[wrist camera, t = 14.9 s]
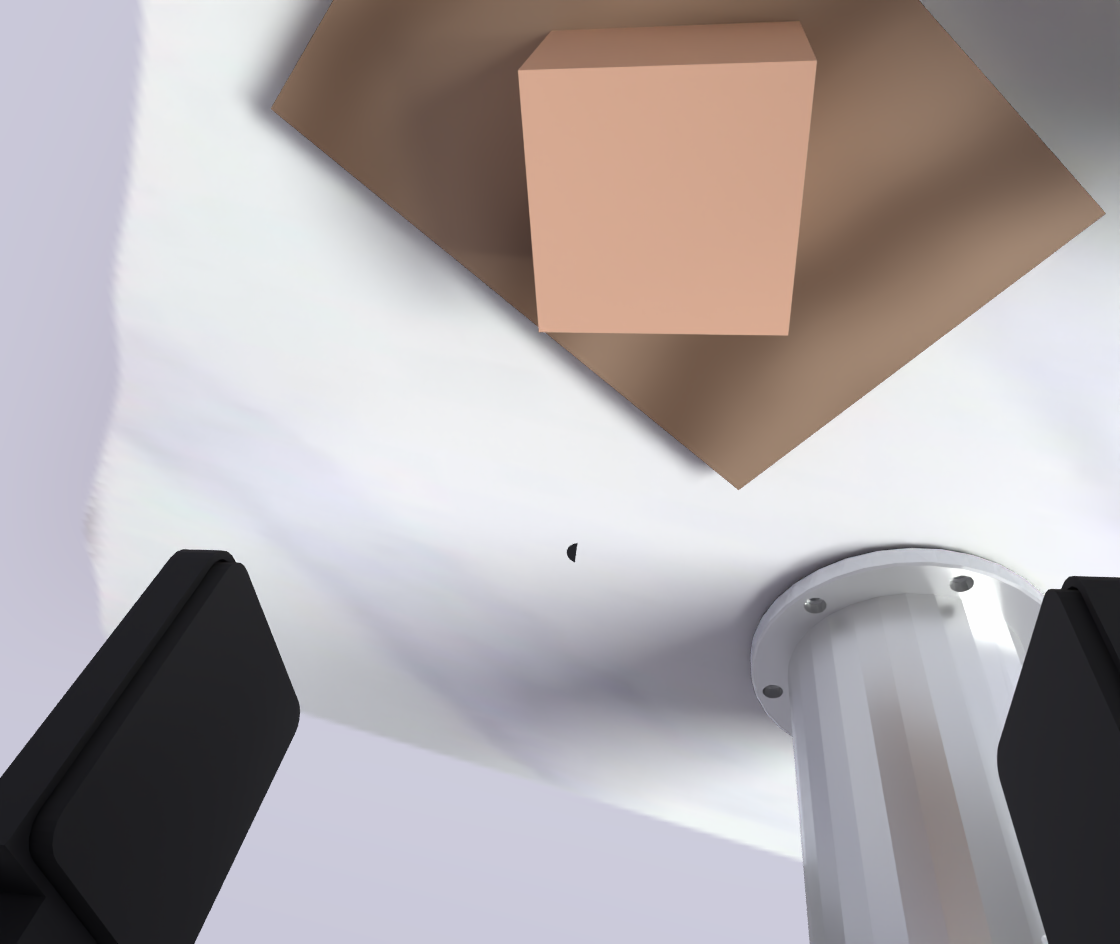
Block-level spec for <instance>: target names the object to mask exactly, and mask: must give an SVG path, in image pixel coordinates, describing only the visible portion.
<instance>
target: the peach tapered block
mask: <svg viewBox="0 0 1120 944" xmlns="http://www.w3.org/2000/svg"><path fill="white" fill-rule="evenodd" d="M816 65H817V59H816V57H815V55H814V53H813V50H812V48H811V46H810V43H809V41H808V39H807V37H806V34H805V32H804V30H803V27H802V25H801V23H800V21H786V22H760V23H735V24H709V25H684V26H658V27H633V28H607V29H582V30H556V31H551V32H550V33H549V34H548V35H547V36H546V38H545V39H544V40H543V41H542V42H541V44H540V45H539V46H538V47H537V48H536V50H535V51H534V52H533V53H532V54H531V55H530V57H529V58H528V59H527V60H526V61H525V63H524V64H523V65H522V66H521V67H520V68H519V70H518V77H519V89H520V102H521V115H522V127H523V140H524V152H525V165H526V177H527V190H528V202H529V215H530V227H531V240H532V252H533V265H534V277H535V290H536V302H537V315H538V327H539V332H565V333H638V334H710V335H783V336H788V332H789V323H790V313H791V304H792V294H793V285H794V275H795V266H796V256H797V247H798V237H799V228H800V218H801V208H802V199H803V189H804V180H805V170H806V161H807V151H808V142H809V132H810V123H811V113H812V104H813V94H814V85H815V75H816Z"/></svg>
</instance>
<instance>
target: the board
mask: <svg viewBox="0 0 1120 944" xmlns="http://www.w3.org/2000/svg"><path fill="white" fill-rule="evenodd" d="M786 21H800V23H801V25H802V27H803V30H804V32H805V34H806V37H807V39H808V41H809V43H810V46H811V48H812V50H813V53H814V55H815V57H816V59H817V65H816V75H815V85H814V94H813V104H812V113H811V123H810V132H809V142H808V151H807V161H806V170H805V180H804V189H803V199H802V208H801V218H800V228H799V237H798V247H797V256H796V266H795V275H794V285H793V294H792V304H791V313H790V323H789V332H788V336H783V335H710V334H638V333H565V332H545V333H546V334H548V335H549V336H550V337H551V338H553V339H554V340H555V341H556V342H557V343H559V344H560V345H561V346H562V347H564V348H565V349H566V350H567V351H568V352H570V353H571V354H572V355H573V356H575V357H576V358H577V359H578V360H580V361H581V362H582V363H583V364H584V365H586V366H587V367H588V368H589V369H591V370H592V371H593V372H594V373H595V374H597V375H598V376H599V377H600V378H602V379H603V380H604V381H605V382H607V383H608V384H609V385H610V386H611V387H613V388H614V389H615V390H616V391H618V392H619V393H620V394H621V395H622V396H624V397H625V398H626V399H627V400H629V401H630V402H631V403H632V404H634V405H635V406H636V407H637V408H638V409H640V410H641V411H642V412H643V413H645V414H646V415H647V416H648V417H649V418H651V419H652V420H653V421H654V422H656V423H657V424H658V425H659V426H661V427H662V428H663V429H664V430H665V431H667V432H668V433H669V434H670V435H672V436H673V437H674V438H675V439H676V440H678V441H679V442H680V443H681V444H683V445H684V446H685V447H686V448H688V449H689V450H690V451H691V452H692V453H694V454H695V455H696V456H697V457H699V458H700V459H701V460H702V461H703V462H705V463H706V464H707V465H708V466H710V467H711V468H712V469H713V470H715V471H716V472H717V473H718V474H719V475H721V476H722V477H723V478H724V479H726V480H727V481H728V482H729V483H730V484H732V485H733V486H734V487H735V488H737V489H738V490H739V489H741V488H742V487H743V486H745V485H746V484H747V483H749V482H750V481H751V480H753V479H754V478H755V477H757V476H758V475H759V474H761V473H762V472H763V471H765V470H766V469H767V468H769V467H770V466H771V465H773V464H774V463H775V462H777V461H778V460H779V459H781V458H782V457H783V456H785V455H786V454H787V453H789V452H790V451H791V450H793V449H794V448H795V447H797V446H798V445H799V444H801V443H802V442H803V441H805V440H806V439H807V438H809V437H810V436H811V435H813V434H814V433H815V432H816V431H818V430H819V429H820V428H822V427H823V426H824V425H826V424H827V423H828V422H830V421H831V420H832V419H834V418H835V417H836V416H838V415H839V414H840V413H842V412H843V411H844V410H846V409H847V408H848V407H850V406H851V405H852V404H854V403H855V402H856V401H858V400H859V399H860V398H862V397H863V396H864V395H866V394H867V393H868V392H870V391H871V390H872V389H874V388H875V387H876V386H878V385H879V384H880V383H882V382H883V381H884V380H886V379H887V378H888V377H890V376H891V375H892V374H894V373H895V372H896V371H898V370H899V369H900V368H901V367H903V366H904V365H905V364H907V363H908V362H909V361H911V360H912V359H913V358H915V357H916V356H917V355H919V354H920V353H921V352H923V351H924V350H925V349H927V348H928V347H929V346H931V345H932V344H933V343H935V342H936V341H937V340H939V339H940V338H941V337H943V336H944V335H945V334H947V333H948V332H949V331H951V330H952V329H953V328H955V327H956V326H957V325H959V324H960V323H961V322H963V321H964V320H965V319H967V318H968V317H969V316H971V315H972V314H973V313H975V312H976V311H977V310H979V309H980V308H981V307H983V306H984V305H985V304H986V303H988V302H989V301H990V300H992V299H993V298H994V297H996V296H997V295H998V294H1000V293H1001V292H1002V291H1004V290H1005V289H1006V288H1008V287H1009V286H1010V285H1012V284H1013V283H1014V282H1016V281H1017V280H1018V279H1020V278H1021V277H1022V276H1024V275H1025V274H1026V273H1028V272H1029V271H1030V270H1032V269H1033V268H1034V267H1036V266H1037V265H1038V264H1040V263H1041V262H1042V261H1044V260H1045V259H1046V258H1048V257H1049V256H1050V255H1052V254H1053V253H1054V252H1056V251H1057V250H1058V249H1060V248H1061V247H1062V246H1064V245H1065V244H1066V243H1068V242H1069V241H1070V240H1071V239H1073V238H1074V237H1075V236H1077V235H1078V234H1079V233H1081V232H1082V231H1083V230H1085V229H1086V228H1087V227H1089V226H1090V225H1091V224H1093V223H1094V222H1095V221H1097V220H1098V219H1099V218H1101V217H1102V216H1103V215H1105V214H1106V213H1105V212H1104V211H1103V209H1102V208H1101V207H1100V206H1099V205H1098V204H1097V203H1096V202H1095V200H1094V199H1093V198H1092V197H1091V196H1090V195H1089V194H1088V192H1087V191H1086V190H1085V189H1084V188H1083V187H1082V186H1081V184H1080V183H1079V182H1078V181H1077V180H1076V179H1075V178H1074V176H1073V175H1072V174H1071V173H1070V172H1069V171H1068V170H1067V168H1066V167H1065V166H1064V165H1063V164H1062V163H1061V162H1060V160H1059V159H1058V158H1057V157H1056V156H1055V155H1054V154H1053V152H1052V151H1051V150H1050V149H1049V148H1048V147H1047V146H1046V145H1045V143H1044V142H1043V141H1042V140H1041V139H1040V138H1039V137H1038V135H1037V134H1036V133H1035V132H1034V131H1033V130H1032V129H1031V127H1030V126H1029V125H1028V124H1027V123H1026V122H1025V121H1024V119H1023V118H1022V117H1021V116H1020V115H1019V114H1018V113H1017V111H1016V110H1015V109H1014V108H1013V107H1012V106H1011V105H1010V103H1009V102H1008V101H1007V100H1006V99H1005V98H1004V97H1003V95H1002V94H1001V93H1000V92H999V91H998V90H997V89H996V88H995V86H994V85H993V84H992V83H991V82H990V81H989V80H988V78H987V77H986V76H985V75H984V74H983V73H982V72H981V70H980V69H979V68H978V67H977V66H976V65H975V64H974V62H973V61H972V60H971V59H970V58H969V57H968V56H967V54H966V53H965V52H964V51H963V50H962V49H961V48H960V46H959V45H958V44H957V43H956V42H955V41H954V40H953V38H952V37H951V36H950V35H949V34H948V33H947V32H946V31H945V29H944V28H943V27H942V26H941V25H940V24H939V23H938V21H937V20H936V19H935V18H934V17H933V16H932V15H931V13H930V12H929V11H928V10H927V9H926V8H925V7H924V5H923V4H922V3H921V2H920V1H919V0H333V2H332V3H331V5H330V7H329V9H328V10H327V12H326V14H325V15H324V17H323V19H322V21H321V22H320V24H319V26H318V28H317V29H316V31H315V33H314V35H313V36H312V38H311V40H310V41H309V43H308V45H307V47H306V48H305V50H304V52H303V54H302V55H301V57H300V59H299V61H298V62H297V64H296V66H295V67H294V69H293V71H292V73H291V74H290V76H289V78H288V80H287V81H286V83H285V85H284V87H283V88H282V90H281V92H280V94H279V95H278V97H277V99H276V100H275V102H274V104H273V106H272V107H271V109H272V110H273V111H274V112H275V113H276V114H278V115H279V116H280V117H281V118H283V119H284V120H285V121H286V122H287V123H289V124H290V125H291V126H292V127H294V128H295V129H296V130H297V131H299V132H300V133H301V134H302V135H303V136H305V137H306V138H307V139H308V140H310V141H311V142H312V143H313V144H314V145H316V146H317V147H318V148H319V149H321V150H322V151H323V152H324V153H326V154H327V155H328V156H329V157H330V158H332V159H333V160H334V161H335V162H337V163H338V164H339V165H340V166H341V167H343V168H344V169H345V170H346V171H348V172H349V173H350V174H351V175H353V176H354V177H355V178H356V179H357V180H359V181H360V182H361V183H362V184H364V185H365V186H366V187H367V188H368V189H370V190H371V191H372V192H373V193H375V194H376V195H377V196H378V197H380V198H381V199H382V200H383V201H384V202H386V203H387V204H388V205H389V206H391V207H392V208H393V209H394V210H395V211H397V212H398V213H399V214H400V215H402V216H403V217H404V218H405V219H407V220H408V221H409V222H410V223H411V224H413V225H414V226H415V227H416V228H418V229H419V230H420V231H421V232H422V233H424V234H425V235H426V236H427V237H429V238H430V239H431V240H432V241H434V242H435V243H436V244H437V245H438V246H440V247H441V248H442V249H443V250H445V251H446V252H447V253H448V254H449V255H451V256H452V257H453V258H454V259H456V260H457V261H458V262H459V263H460V264H462V265H463V266H464V267H465V268H467V269H468V270H469V271H470V272H472V273H473V274H474V275H475V276H476V277H478V278H479V279H480V280H481V281H483V282H484V283H485V284H486V285H487V286H489V287H490V288H491V289H492V290H494V291H495V292H496V293H497V294H499V295H500V296H501V297H502V298H503V299H505V300H506V301H507V302H508V303H510V304H511V305H512V306H513V307H514V308H516V309H517V310H518V311H519V312H521V313H522V314H523V315H524V316H526V317H527V318H528V319H529V320H530V321H532V322H533V323H534V324H535V325H537V326H538V315H537V302H536V290H535V277H534V265H533V252H532V240H531V227H530V215H529V202H528V190H527V177H526V165H525V152H524V140H523V127H522V115H521V102H520V89H519V77H518V70H519V68H520V67H521V66H522V65H523V64H524V63H525V61H526V60H527V59H528V58H529V57H530V55H531V54H532V53H533V52H534V51H535V50H536V48H537V47H538V46H539V45H540V44H541V42H542V41H543V40H544V39H545V38H546V36H547V35H548V34H549V33H550V32H551V31H556V30H582V29H607V28H633V27H658V26H684V25H709V24H735V23H760V22H786Z"/></svg>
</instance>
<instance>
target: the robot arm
mask: <svg viewBox="0 0 1120 944" xmlns="http://www.w3.org/2000/svg"><path fill="white" fill-rule="evenodd" d="M750 659H751V679H752V683H753V687H754V692H755V694H756V697H757V698H758V700H759V702H760V704H761V705H762V707H763V709H764V710H765V712H766V714H767V715H768V716H769V717H770V718H771V719H772V720H773V721H774V722H775V723H776V724H777V725H778V726H779V727H780V728H781V729H782V730H784V731H785V732H786V733H788V734H789V735H791V736H792V737H793V747H794V759H795V771H796V783H797V795H798V808H799V820H800V832H801V844H802V856H803V868H804V879H805V892H806V904H807V916H808V928H809V940H810V944H1120V578H1118V577H1085V576H1072V577H1068V578H1067V579H1066V580H1065V582H1064V584H1063V586H1062V588H1061V589H1049V590H1048V591H1047V592H1046V593H1045V596H1044V595H1043V594H1042V593H1041V592H1040V591H1039V590H1038V589H1036V588H1035V587H1034V586H1033V585H1032V584H1031V583H1030V582H1029V581H1027V580H1026V579H1025V578H1023V577H1022V576H1020V575H1018V574H1016V573H1015V572H1013V571H1011V570H1009V569H1008V568H1006V567H1004V566H1002V565H1000V564H997V563H994V562H992V561H989V560H986V559H983V558H980V557H977V556H975V555H970V554H965V553H959V552H954V551H949V550H943V549H922V548H904V549H894V550H884V551H876V552H871V553H867V554H863V555H859V556H855V557H850V558H846V559H844V560H841V561H839V562H836V563H834V564H831V565H828V566H826V567H823V568H821V569H818V570H817V571H815V572H813V573H812V574H810V575H808V576H806V577H805V578H803V579H801V580H800V581H798V582H796V583H795V584H793V585H792V586H791V587H790V588H789V589H788V590H786V591H785V592H784V593H783V594H782V595H781V596H779V597H778V598H777V599H776V600H775V601H774V602H773V604H772V605H771V606H770V608H769V609H768V610H767V611H766V613H765V614H764V615H763V617H762V618H761V620H760V622H759V625H758V627H757V629H756V631H755V634H754V636H753V641H752V648H751V654H750ZM299 717H300V706H299V702H298V699H297V696H296V694H295V691H294V689H293V686H292V684H291V681H290V679H289V676H288V674H287V671H286V669H285V666H284V663H283V661H282V658H281V656H280V653H279V651H278V648H277V646H276V643H275V641H274V638H273V636H272V633H271V630H270V628H269V625H268V623H267V620H266V618H265V615H264V613H263V610H262V608H261V605H260V603H259V600H258V597H257V595H256V592H255V590H254V587H253V585H252V582H251V580H250V577H249V575H248V572H247V570H246V568H245V566H244V565H242V564H241V563H237V562H236V561H235V560H234V558H233V556H232V555H231V554H230V553H228V552H227V551H220V550H187V549H183V550H180V551H177V552H176V553H175V554H174V555H173V556H172V557H171V558H170V559H169V560H168V562H167V563H166V564H165V565H164V567H163V568H162V569H161V571H160V572H159V573H158V575H157V576H156V577H155V578H154V580H153V581H152V582H151V584H150V585H149V586H148V587H147V589H146V590H145V591H144V593H143V594H142V595H141V597H140V598H139V599H138V600H137V602H136V603H135V604H134V606H133V607H132V608H131V609H130V611H129V612H128V613H127V615H126V616H125V617H124V619H123V620H122V621H121V622H120V624H119V625H118V626H117V628H116V629H115V630H114V631H113V633H112V634H111V635H110V637H109V638H108V639H107V641H106V642H105V643H104V644H103V646H102V647H101V648H100V650H99V651H98V652H97V653H96V655H95V656H94V657H93V659H92V660H91V661H90V663H89V664H88V665H87V666H86V668H85V669H84V670H83V672H82V673H81V674H80V675H79V677H78V678H77V680H76V681H75V682H74V683H73V685H72V686H71V687H70V689H69V690H68V691H67V692H66V694H65V695H64V696H63V698H62V699H61V700H60V702H59V703H58V704H57V705H56V707H55V708H54V709H53V711H52V712H51V713H50V714H49V716H48V717H47V718H46V720H45V721H44V722H43V723H42V725H41V726H40V727H39V729H38V730H37V731H36V733H35V734H34V735H33V737H32V738H31V739H30V740H29V741H28V743H27V744H26V745H25V747H24V748H23V749H22V751H21V752H20V753H19V754H18V756H17V757H16V758H15V760H14V761H13V762H12V763H11V765H10V766H9V767H8V769H7V770H6V771H5V773H4V774H3V775H2V776H1V778H0V944H194V943H195V941H196V939H197V937H198V934H199V932H200V930H201V928H202V926H203V924H204V922H205V920H206V918H207V916H208V914H209V912H210V910H211V908H212V905H213V903H214V901H215V899H216V897H217V895H218V893H219V891H220V889H221V887H222V885H223V882H224V880H225V878H226V876H227V874H228V872H229V870H230V868H231V866H232V864H233V862H234V860H235V857H236V855H237V853H238V851H239V849H240V847H241V845H242V843H243V841H244V839H245V837H246V834H247V832H248V830H249V828H250V826H251V824H252V822H253V820H254V818H255V816H256V813H257V812H258V810H259V807H260V805H261V803H262V801H263V799H264V797H265V795H266V793H267V791H268V789H269V787H270V784H271V782H272V780H273V778H274V776H275V774H276V772H277V770H278V768H279V766H280V764H281V761H282V759H283V757H284V755H285V753H286V751H287V749H288V747H289V745H290V743H291V741H292V739H293V737H294V735H295V732H296V730H297V727H298V723H299Z"/></svg>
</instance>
